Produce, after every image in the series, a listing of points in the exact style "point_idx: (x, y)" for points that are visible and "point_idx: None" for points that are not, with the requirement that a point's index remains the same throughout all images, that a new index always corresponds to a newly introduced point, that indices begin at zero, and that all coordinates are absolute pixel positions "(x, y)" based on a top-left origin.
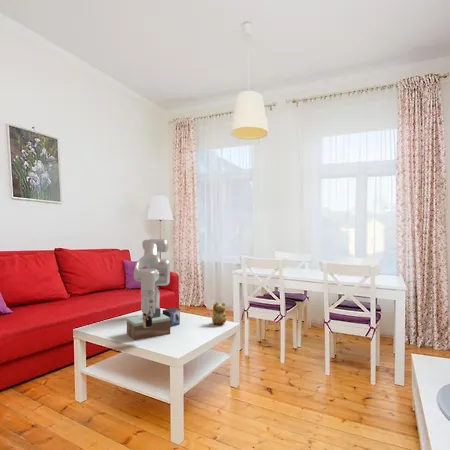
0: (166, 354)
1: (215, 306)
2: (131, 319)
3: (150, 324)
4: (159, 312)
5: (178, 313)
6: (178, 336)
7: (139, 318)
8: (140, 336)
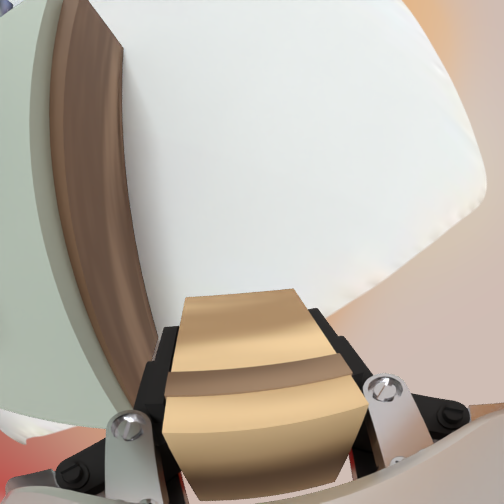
0: (456, 219)
1: None
2: (4, 398)
3: (343, 343)
4: None
5: None
6: (213, 11)
7: None
8: (142, 309)
